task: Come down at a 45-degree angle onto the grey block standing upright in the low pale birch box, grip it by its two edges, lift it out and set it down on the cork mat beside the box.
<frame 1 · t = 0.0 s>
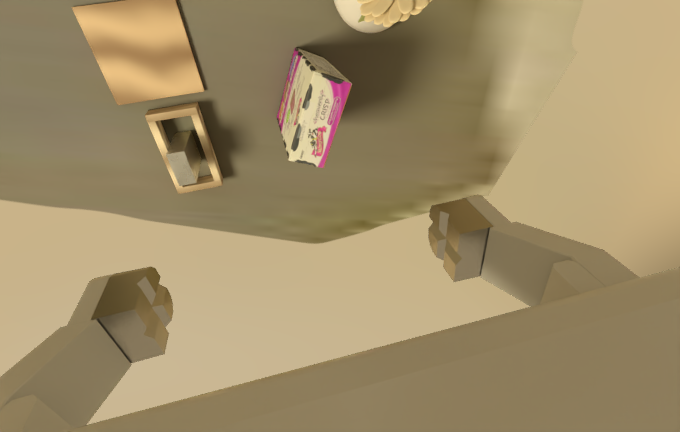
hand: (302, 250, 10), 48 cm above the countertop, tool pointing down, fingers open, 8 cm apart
birch box: (188, 146, 56), on the countertop
candy bar box: (300, 88, 55), on the countertop
cork mat: (144, 52, 47), on the countertop
grey block: (188, 146, 56), resting in birch box
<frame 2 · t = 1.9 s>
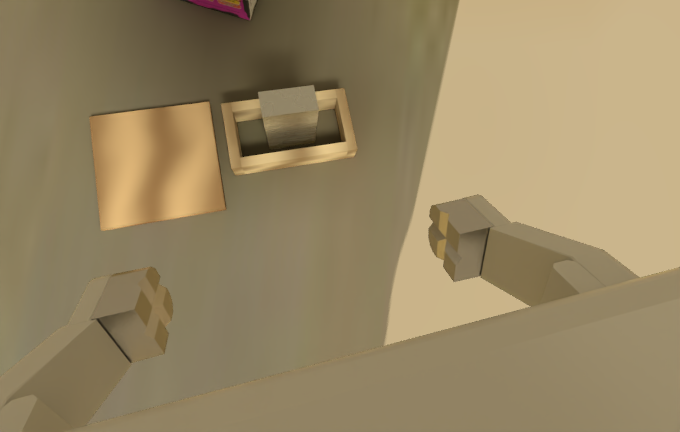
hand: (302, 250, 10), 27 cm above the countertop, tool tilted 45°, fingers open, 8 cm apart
birch box: (290, 136, 39), on the countertop
cork mat: (159, 164, 37), on the countertop
grey block: (290, 136, 39), resting in birch box
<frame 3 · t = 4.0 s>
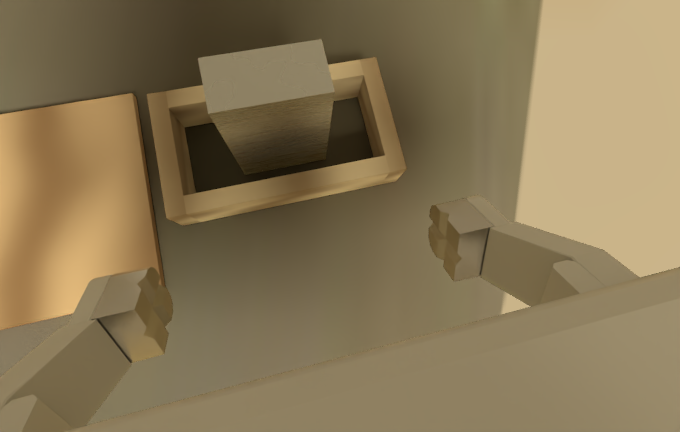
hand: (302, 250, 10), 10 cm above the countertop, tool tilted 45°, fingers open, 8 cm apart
birch box: (281, 148, 22), on the countertop
cork mat: (40, 211, 20), on the countertop
grey block: (281, 148, 22), resting in birch box
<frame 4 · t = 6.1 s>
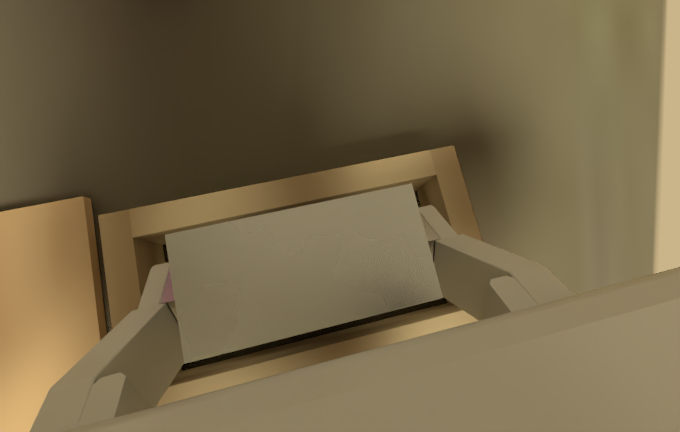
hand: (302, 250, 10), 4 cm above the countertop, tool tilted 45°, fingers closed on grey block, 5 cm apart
birch box: (307, 274, 15), on the countertop
grey block: (307, 274, 15), resting in birch box, touching gripper
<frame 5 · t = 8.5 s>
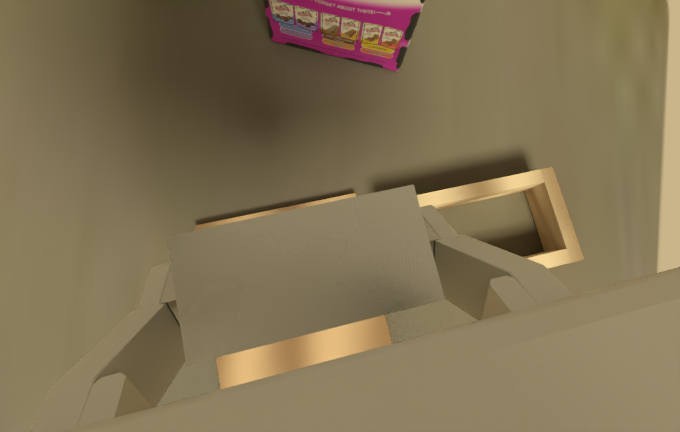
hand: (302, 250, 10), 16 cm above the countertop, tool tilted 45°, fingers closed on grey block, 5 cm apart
birch box: (469, 235, 27), on the countertop
candy bar box: (339, 34, 30), on the countertop
cork mat: (293, 289, 26), on the countertop
grey block: (308, 275, 15), point 11 cm above the countertop, touching gripper
when the fingers open (6 cm above the countertop, at t = 11.2 s): grey block stays where it is, resting on cork mat.
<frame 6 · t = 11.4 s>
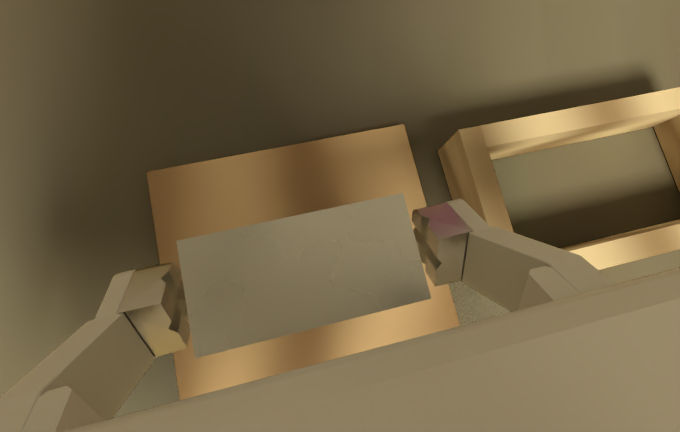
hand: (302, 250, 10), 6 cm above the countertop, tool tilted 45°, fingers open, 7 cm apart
birch box: (577, 191, 18), on the countertop
cork mat: (308, 275, 16), on the countertop
grey block: (307, 275, 15), resting on cork mat
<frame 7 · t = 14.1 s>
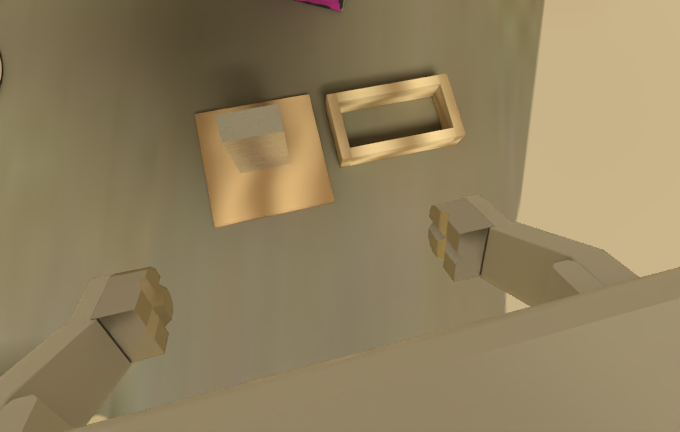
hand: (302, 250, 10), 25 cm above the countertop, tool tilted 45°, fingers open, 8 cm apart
birch box: (391, 125, 38), on the countertop
cork mat: (264, 158, 36), on the countertop
grey block: (263, 157, 36), resting on cork mat
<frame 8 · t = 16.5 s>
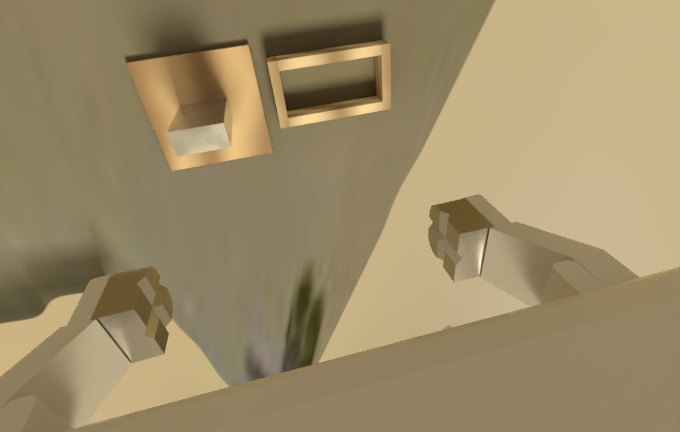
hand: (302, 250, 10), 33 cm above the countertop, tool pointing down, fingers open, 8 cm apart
birch box: (329, 81, 40), on the countertop
cork mat: (207, 111, 39), on the countertop
grey block: (207, 112, 39), resting on cork mat
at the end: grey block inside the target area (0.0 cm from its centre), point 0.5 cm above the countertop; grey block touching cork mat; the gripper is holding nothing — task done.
